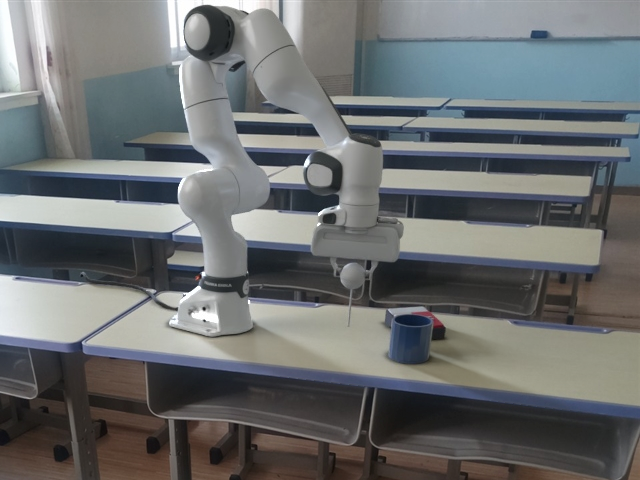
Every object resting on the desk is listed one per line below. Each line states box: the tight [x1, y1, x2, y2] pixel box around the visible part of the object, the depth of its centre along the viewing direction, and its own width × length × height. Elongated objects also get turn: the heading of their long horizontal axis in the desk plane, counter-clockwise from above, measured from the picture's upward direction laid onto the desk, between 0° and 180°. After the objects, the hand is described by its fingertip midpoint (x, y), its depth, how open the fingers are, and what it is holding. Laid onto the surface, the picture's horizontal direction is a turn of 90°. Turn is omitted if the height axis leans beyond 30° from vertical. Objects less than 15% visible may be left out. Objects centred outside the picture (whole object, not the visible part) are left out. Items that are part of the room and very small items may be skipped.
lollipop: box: [339, 262, 366, 328], centre depth 189 cm, size 6×6×15 cm
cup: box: [388, 314, 434, 365], centre depth 192 cm, size 10×10×9 cm
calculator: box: [384, 306, 447, 340], centre depth 209 cm, size 11×4×15 cm
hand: (352, 277), depth 186 cm, fingers closed on lollipop, 6 cm apart
